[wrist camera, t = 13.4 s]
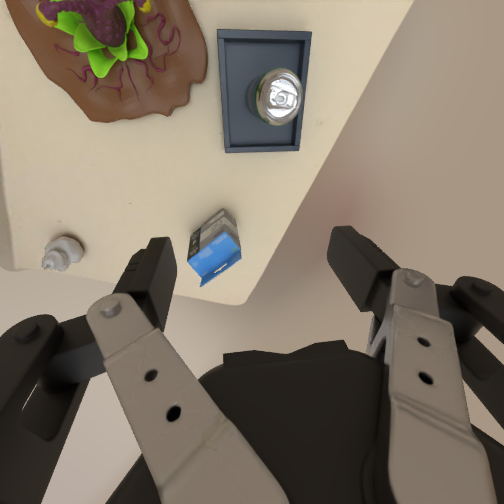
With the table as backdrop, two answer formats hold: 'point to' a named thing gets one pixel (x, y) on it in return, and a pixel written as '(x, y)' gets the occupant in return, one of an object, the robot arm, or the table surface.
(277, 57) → the container
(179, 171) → the table surface
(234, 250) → the label tape box
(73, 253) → the rubber duck
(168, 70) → the plant
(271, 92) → the soda can
